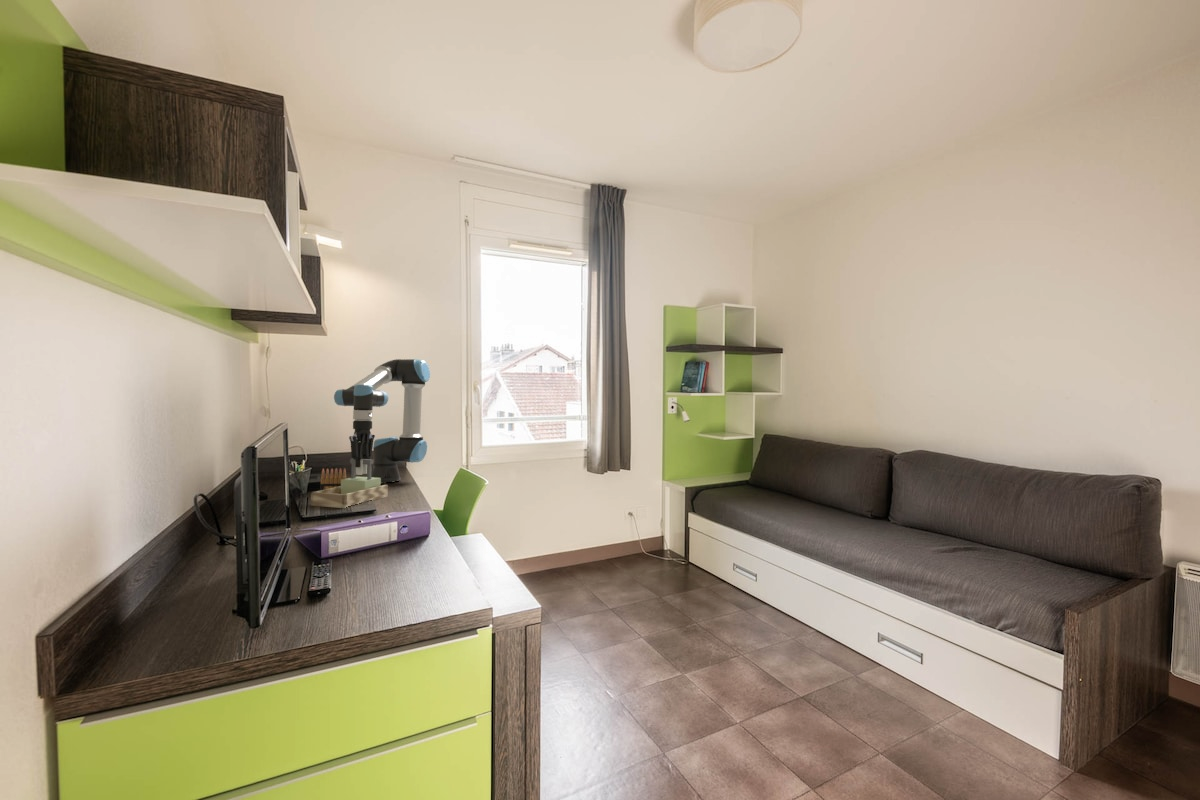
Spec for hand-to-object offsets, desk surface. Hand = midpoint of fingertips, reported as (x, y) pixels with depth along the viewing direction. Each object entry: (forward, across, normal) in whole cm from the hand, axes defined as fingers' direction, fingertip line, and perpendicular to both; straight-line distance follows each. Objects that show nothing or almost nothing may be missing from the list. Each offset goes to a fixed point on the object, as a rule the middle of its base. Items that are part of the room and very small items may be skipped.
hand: (361, 474), depth 214 cm
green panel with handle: (+9, 0, 0) cm, 9 cm away
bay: (+10, -6, 0) cm, 12 cm away
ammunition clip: (+11, +3, +17) cm, 20 cm away
